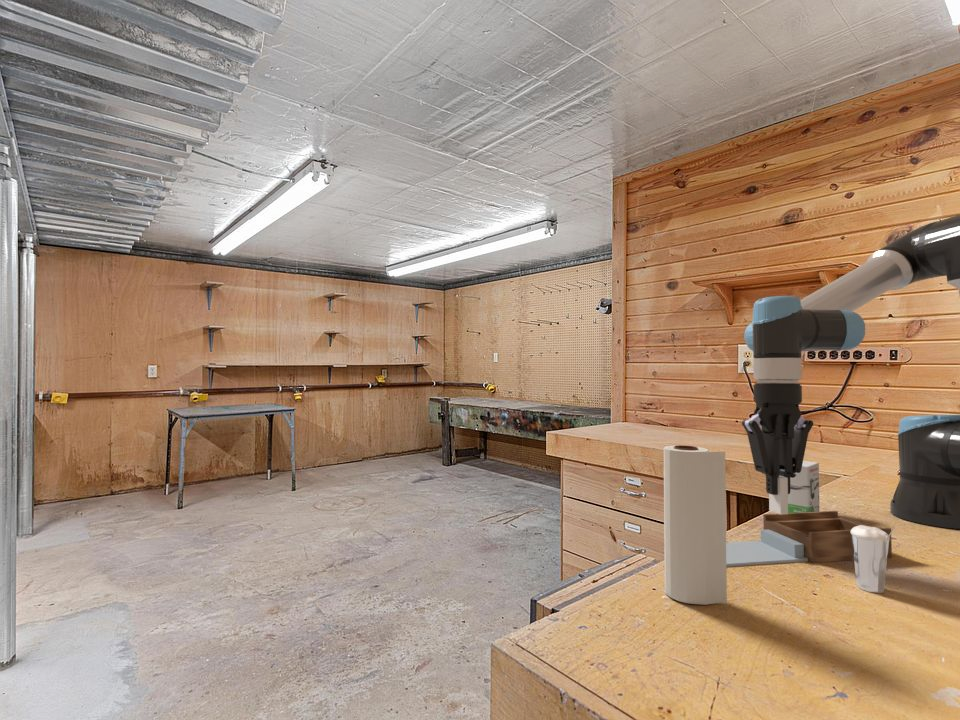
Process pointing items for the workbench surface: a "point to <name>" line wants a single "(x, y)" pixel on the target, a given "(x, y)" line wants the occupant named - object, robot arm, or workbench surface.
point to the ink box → (805, 489)
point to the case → (818, 534)
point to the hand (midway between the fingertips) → (778, 512)
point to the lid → (765, 550)
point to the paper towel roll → (695, 525)
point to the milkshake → (870, 557)
